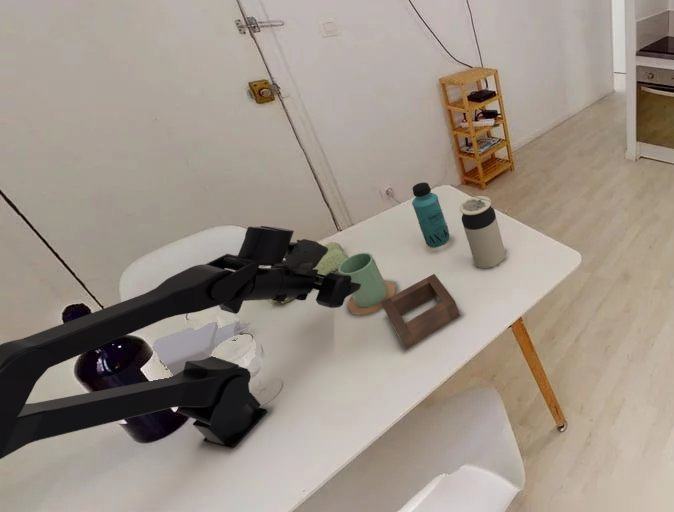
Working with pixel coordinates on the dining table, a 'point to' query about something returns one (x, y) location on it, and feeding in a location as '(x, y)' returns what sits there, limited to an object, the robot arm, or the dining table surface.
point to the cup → (365, 279)
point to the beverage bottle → (430, 216)
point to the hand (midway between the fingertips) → (343, 282)
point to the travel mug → (482, 231)
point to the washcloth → (328, 262)
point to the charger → (193, 344)
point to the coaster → (368, 310)
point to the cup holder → (425, 321)
